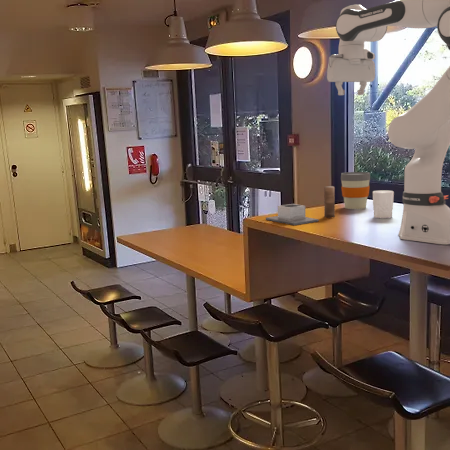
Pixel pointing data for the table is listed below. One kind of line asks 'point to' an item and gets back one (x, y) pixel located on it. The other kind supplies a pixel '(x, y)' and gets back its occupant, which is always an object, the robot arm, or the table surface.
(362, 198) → the reusable coffee cup
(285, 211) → the cup bracket
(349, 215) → the table surface
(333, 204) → the walnut rail post
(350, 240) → the table surface
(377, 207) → the white cup
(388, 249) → the table surface
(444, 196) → the robot arm
